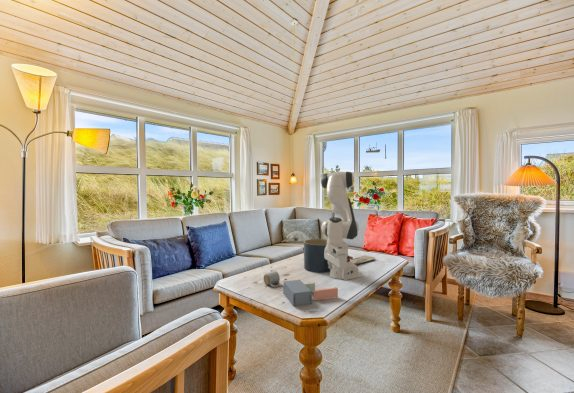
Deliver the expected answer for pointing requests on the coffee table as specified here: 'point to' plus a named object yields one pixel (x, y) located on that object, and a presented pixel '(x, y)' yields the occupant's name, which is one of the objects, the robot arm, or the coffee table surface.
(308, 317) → the coffee table surface
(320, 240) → the planter
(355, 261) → the newspaper
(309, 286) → the mint green upright slab
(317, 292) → the pink stick
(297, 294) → the grey rectangular block
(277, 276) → the ceramic mug
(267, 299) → the coffee table surface
